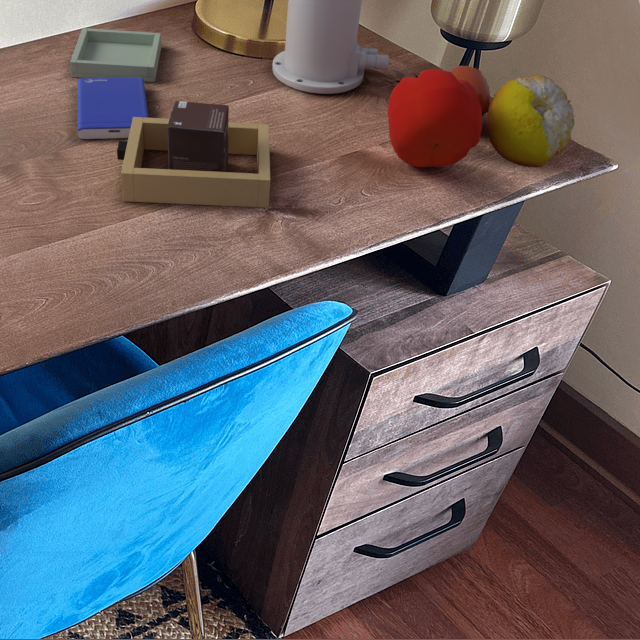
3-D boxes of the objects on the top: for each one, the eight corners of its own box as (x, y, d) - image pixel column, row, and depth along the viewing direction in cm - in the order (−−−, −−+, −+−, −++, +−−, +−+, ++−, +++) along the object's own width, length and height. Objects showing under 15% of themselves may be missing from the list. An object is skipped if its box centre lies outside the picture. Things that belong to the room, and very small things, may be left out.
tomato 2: (508, 76, 104) (495, 138, 105) (467, 83, 111) (455, 142, 111) (465, 56, 100) (452, 121, 100) (425, 65, 107) (413, 126, 107)
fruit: (564, 177, 102) (580, 157, 94) (479, 170, 103) (487, 149, 95) (571, 91, 104) (587, 63, 96) (486, 84, 104) (495, 57, 97)
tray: (161, 47, 116) (160, 32, 115) (154, 82, 108) (154, 67, 107) (83, 42, 115) (82, 27, 114) (71, 77, 107) (69, 61, 106)
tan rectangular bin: (267, 150, 98) (268, 124, 96) (268, 207, 89) (270, 180, 87) (125, 143, 96) (123, 116, 94) (113, 201, 88) (110, 172, 85)
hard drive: (76, 77, 104) (77, 127, 95) (143, 77, 106) (149, 125, 97) (78, 89, 105) (78, 139, 96) (144, 88, 107) (150, 137, 98)
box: (223, 191, 91) (224, 132, 86) (167, 187, 90) (166, 126, 86) (228, 162, 95) (230, 104, 90) (176, 158, 95) (174, 99, 90)
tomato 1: (453, 186, 101) (442, 125, 104) (507, 127, 90) (492, 61, 94) (373, 175, 97) (365, 112, 100) (420, 113, 87) (408, 45, 90)
